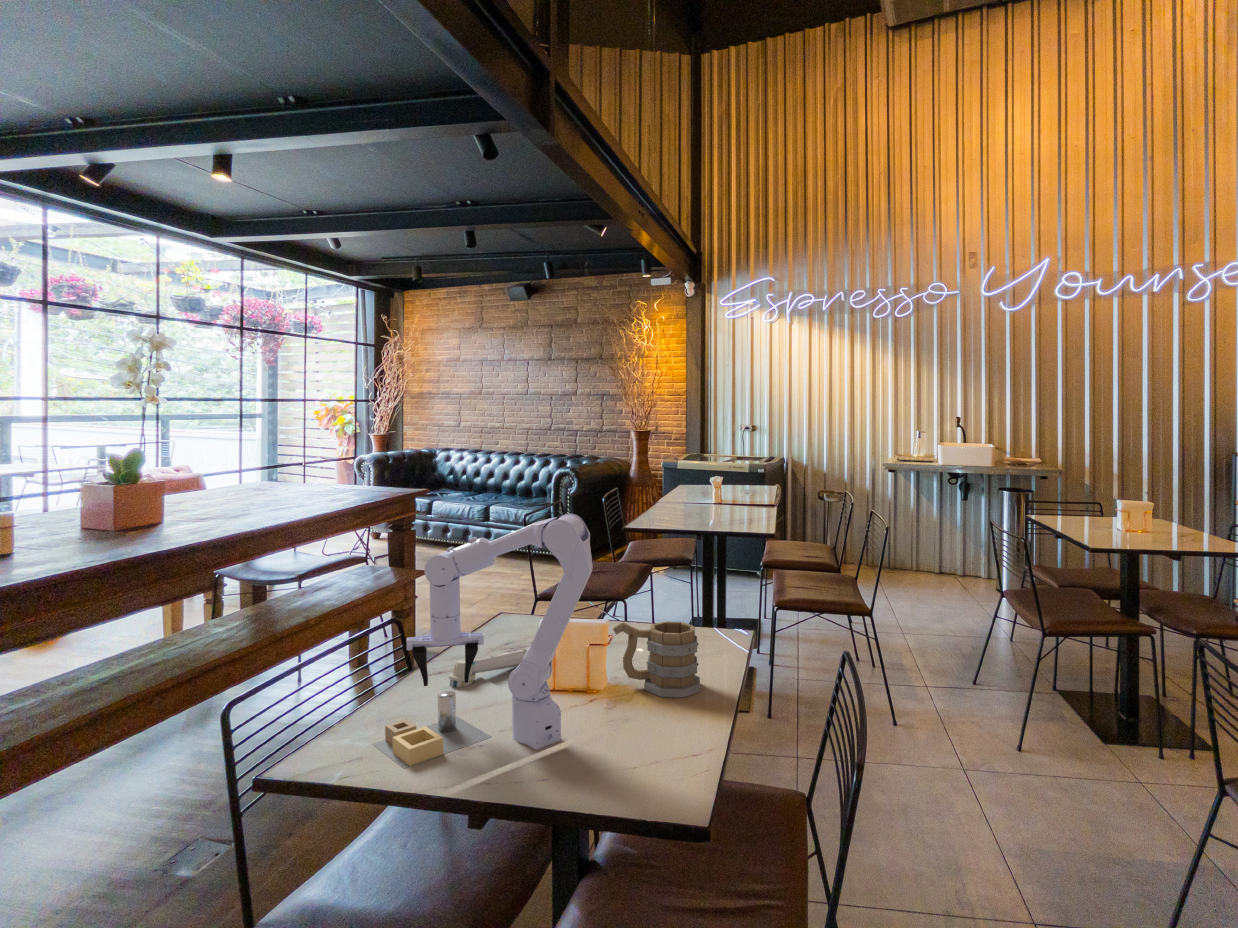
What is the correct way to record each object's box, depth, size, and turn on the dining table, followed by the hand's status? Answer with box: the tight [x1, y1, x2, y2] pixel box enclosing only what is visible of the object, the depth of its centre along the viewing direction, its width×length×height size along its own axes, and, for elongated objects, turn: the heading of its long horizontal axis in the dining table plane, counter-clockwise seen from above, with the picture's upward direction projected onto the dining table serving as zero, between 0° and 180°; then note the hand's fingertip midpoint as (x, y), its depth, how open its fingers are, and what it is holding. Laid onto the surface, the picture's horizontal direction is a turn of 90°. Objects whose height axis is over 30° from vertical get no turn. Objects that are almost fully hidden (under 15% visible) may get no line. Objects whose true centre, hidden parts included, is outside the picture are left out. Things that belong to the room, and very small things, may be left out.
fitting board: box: [371, 715, 492, 770], centre depth 132 cm, size 13×18×4 cm
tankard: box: [612, 621, 701, 699], centre depth 161 cm, size 20×13×15 cm, turn 84°
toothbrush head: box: [448, 647, 529, 688], centre depth 169 cm, size 5×7×25 cm
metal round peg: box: [437, 690, 457, 733], centre depth 137 cm, size 3×3×7 cm
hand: (446, 682), depth 137 cm, fingers open, 7 cm apart
